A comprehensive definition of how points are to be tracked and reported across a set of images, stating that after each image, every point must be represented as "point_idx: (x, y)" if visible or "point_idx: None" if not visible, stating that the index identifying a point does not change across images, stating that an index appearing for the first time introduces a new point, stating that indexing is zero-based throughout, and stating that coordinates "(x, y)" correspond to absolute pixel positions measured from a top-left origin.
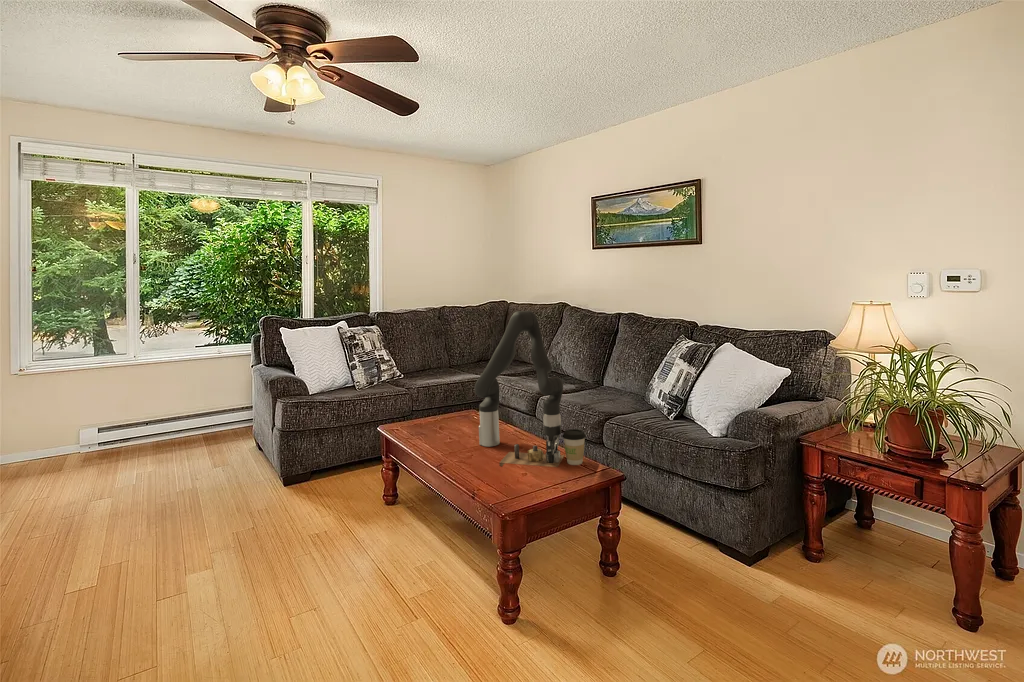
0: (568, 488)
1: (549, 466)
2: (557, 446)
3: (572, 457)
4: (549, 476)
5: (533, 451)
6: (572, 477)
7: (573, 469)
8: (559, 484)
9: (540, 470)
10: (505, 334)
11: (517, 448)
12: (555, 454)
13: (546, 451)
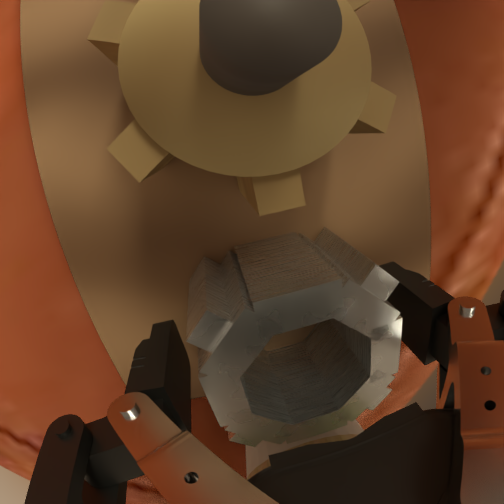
0: (11, 465)
1: (105, 346)
2: (440, 387)
3: None
4: (21, 370)
5: (182, 39)
6: None
7: (225, 446)
8: (3, 435)
9: (55, 258)
10: None
11: None
12: (240, 427)
13: (37, 460)
